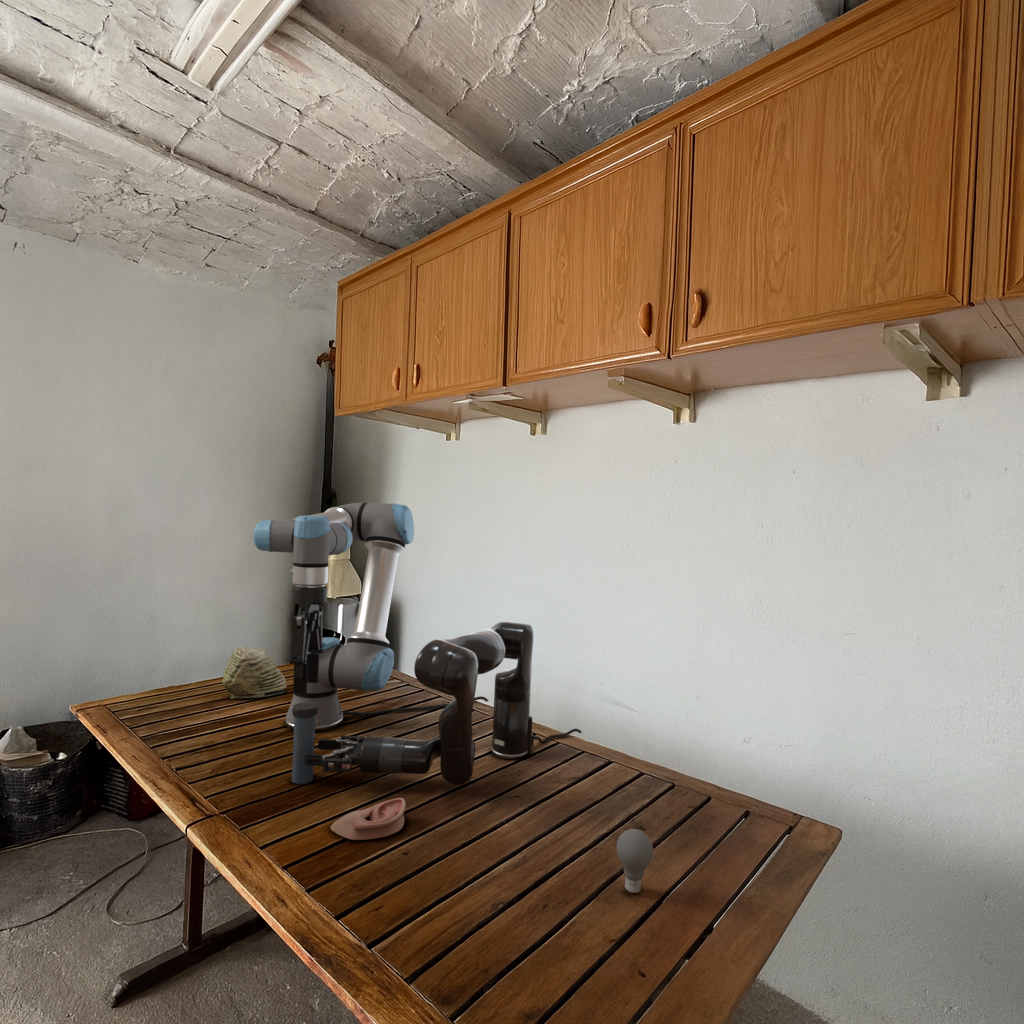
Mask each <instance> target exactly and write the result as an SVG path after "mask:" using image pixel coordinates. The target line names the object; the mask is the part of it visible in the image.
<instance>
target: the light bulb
mask: <svg viewBox="0 0 1024 1024" xmlns="http://www.w3.org/2000/svg"><path fill="white" fill-rule="evenodd" d="M615 849H616V854H617V857H618V859H619V861H620V863H621V865H622V867H623V873H624V874H623V875H624V876H625V878H624V888H625V890H627V891H628V892H630V893H634V894H635V893H639V892H640V891H641V889H642V887H641V886H642V879H643V877H644V875H645V871H646V868H647V867H648V866H649V864H650V863H651V861H652V859H653V855H654V847H653V843H652V841H651V838H649V836H648V835H647V834H646V833H645V832H643V831H642V830H641V829H636V828H629V829H627V830H625V831H623V832H622V833H621V834H620V835H619V837H618V839H617V841H616V847H615Z"/></svg>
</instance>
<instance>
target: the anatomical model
mask: <svg viewBox="0 0 1024 1024" xmlns="http://www.w3.org/2000/svg"><path fill="white" fill-rule="evenodd" d="M406 807H407V804H406V799H405V798H403V797H396V798H391V799H388V800H385V801H382V802H378V803H376V804H374V805H372V806H370V807H367V808H364V809H360V810H355V811H351V812H348V813H347V814H344V815H343V816H341V817H340V818H338V819H336V820H335V821H334V822H333V823H332V824H331V825H330V830H331V832H333V833H335V834H337V835H338V836H339V837H342V838H344V839H346V840H351V841H365V840H374V839H380V838H384V837H388V836H391V835H394V834H395V833H397V832H399V831H400V830H402V829H403V828H404V825H405V816H404V814H405V812H406V811H405V810H406Z"/></svg>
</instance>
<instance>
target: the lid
mask: <svg viewBox="0 0 1024 1024" xmlns="http://www.w3.org/2000/svg"><path fill="white" fill-rule="evenodd" d="M317 713H318V705H317V704H316V703H312V702H303V703H298V704H295V705H294V706H293V710H292V714H293V716H295V717H299V718H307V717H312V716H315V715H316V714H317Z"/></svg>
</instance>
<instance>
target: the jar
mask: <svg viewBox="0 0 1024 1024" xmlns="http://www.w3.org/2000/svg"><path fill="white" fill-rule="evenodd" d="M315 721H316V715H315V716H312V717H307V718H299V717H295V716H294V730H293V736H292V737H293V738H292V759H291V760H292V762H291V763H292V764H291V782H292V783H293V784H296V785H305V784H308V783H311V782H312V781H313V780H314V767H315V766H314V765H306V764H305V756H306V755H307V754H315V745H316V744H315V743H316V732H315Z"/></svg>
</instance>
